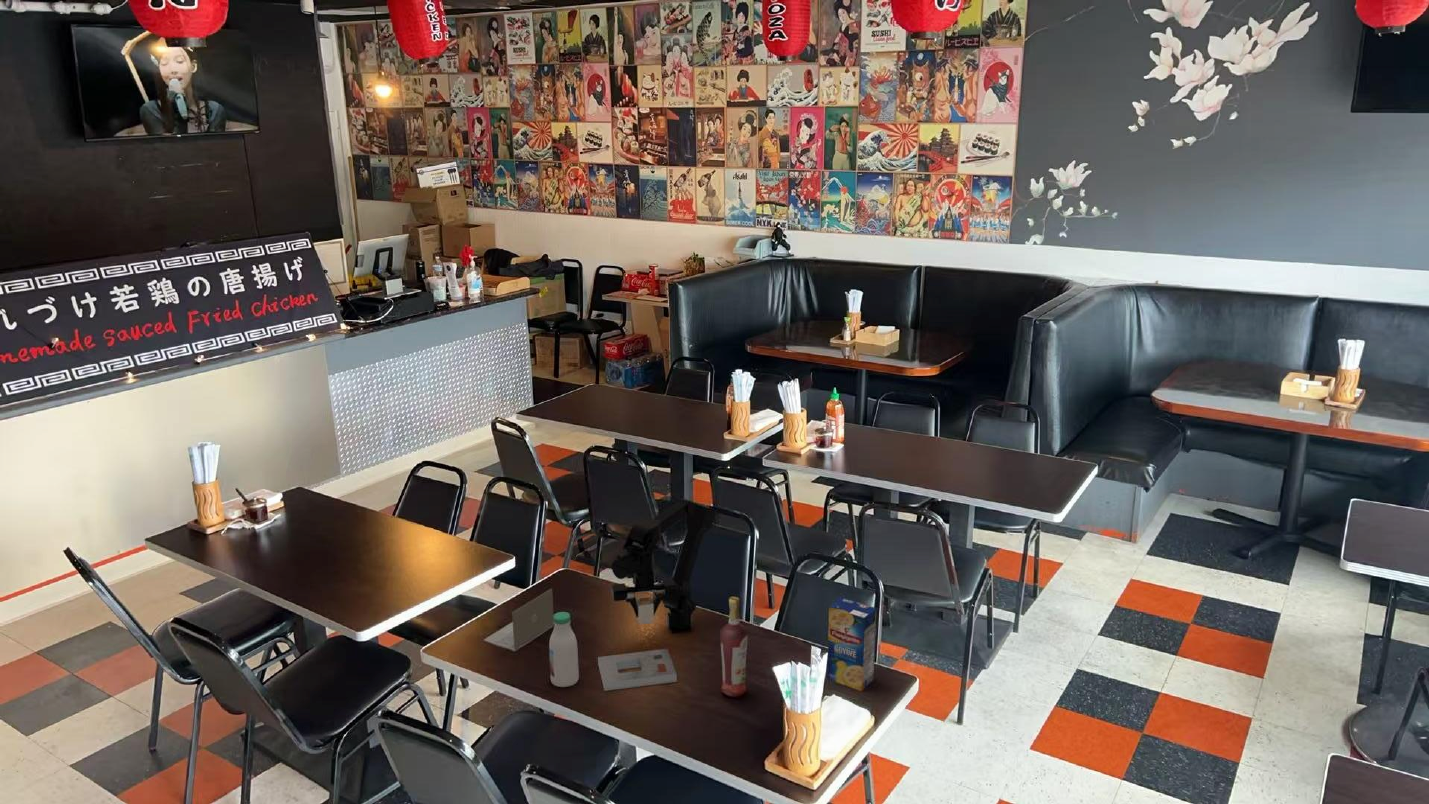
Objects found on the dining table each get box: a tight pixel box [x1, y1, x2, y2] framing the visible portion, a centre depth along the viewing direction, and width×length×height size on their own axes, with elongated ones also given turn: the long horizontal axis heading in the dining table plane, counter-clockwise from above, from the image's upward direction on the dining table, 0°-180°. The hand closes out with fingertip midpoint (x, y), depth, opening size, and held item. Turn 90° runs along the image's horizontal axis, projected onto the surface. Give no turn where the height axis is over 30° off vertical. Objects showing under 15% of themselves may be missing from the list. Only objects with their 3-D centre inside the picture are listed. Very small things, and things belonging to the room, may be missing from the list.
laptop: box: [483, 588, 555, 652], centre depth 305 cm, size 18×12×13 cm
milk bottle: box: [548, 611, 580, 688], centre depth 278 cm, size 8×8×20 cm
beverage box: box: [826, 597, 877, 692], centre depth 278 cm, size 7×11×22 cm, turn 54°
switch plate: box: [597, 648, 678, 692], centre depth 284 cm, size 20×14×3 cm
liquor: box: [719, 596, 749, 698], centre depth 271 cm, size 7×7×28 cm
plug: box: [636, 597, 655, 625], centre depth 295 cm, size 4×4×7 cm
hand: (645, 616), depth 296 cm, fingers closed on plug, 4 cm apart
